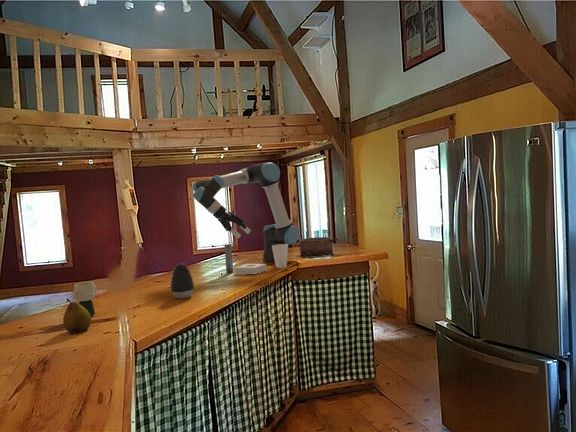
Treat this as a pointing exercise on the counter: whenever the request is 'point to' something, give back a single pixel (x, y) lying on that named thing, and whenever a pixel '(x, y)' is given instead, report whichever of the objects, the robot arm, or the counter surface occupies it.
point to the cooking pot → (316, 246)
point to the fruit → (76, 318)
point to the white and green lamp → (85, 295)
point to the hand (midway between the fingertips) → (244, 234)
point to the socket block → (250, 269)
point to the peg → (228, 258)
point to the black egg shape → (181, 282)
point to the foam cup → (280, 255)
